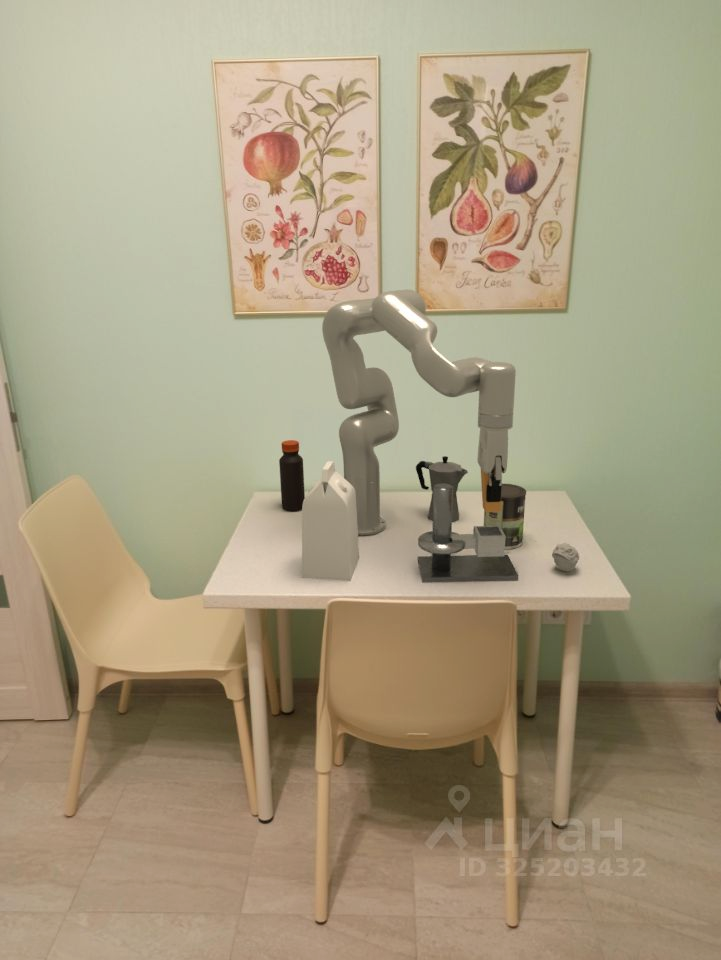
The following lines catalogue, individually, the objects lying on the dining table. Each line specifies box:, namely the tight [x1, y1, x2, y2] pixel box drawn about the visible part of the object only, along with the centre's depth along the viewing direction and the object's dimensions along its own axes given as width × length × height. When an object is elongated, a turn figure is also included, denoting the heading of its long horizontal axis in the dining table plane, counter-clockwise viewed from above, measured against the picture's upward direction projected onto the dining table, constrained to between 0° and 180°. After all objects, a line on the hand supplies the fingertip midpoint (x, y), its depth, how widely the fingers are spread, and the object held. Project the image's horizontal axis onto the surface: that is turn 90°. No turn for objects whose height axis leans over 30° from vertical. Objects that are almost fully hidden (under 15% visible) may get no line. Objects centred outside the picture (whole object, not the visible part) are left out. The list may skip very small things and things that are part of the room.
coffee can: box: [483, 483, 527, 550], centre depth 174 cm, size 10×10×14 cm
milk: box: [301, 460, 360, 582], centre depth 159 cm, size 12×12×26 cm
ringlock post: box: [417, 484, 519, 583], centre depth 158 cm, size 22×11×21 cm, turn 91°
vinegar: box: [278, 439, 306, 512], centre depth 197 cm, size 7×7×20 cm
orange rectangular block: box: [480, 468, 502, 513], centre depth 154 cm, size 4×4×11 cm
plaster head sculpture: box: [551, 542, 580, 572], centre depth 159 cm, size 6×7×7 cm
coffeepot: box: [415, 455, 469, 524], centre depth 189 cm, size 15×9×18 cm, turn 59°
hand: (491, 497), depth 155 cm, fingers closed on orange rectangular block, 3 cm apart
